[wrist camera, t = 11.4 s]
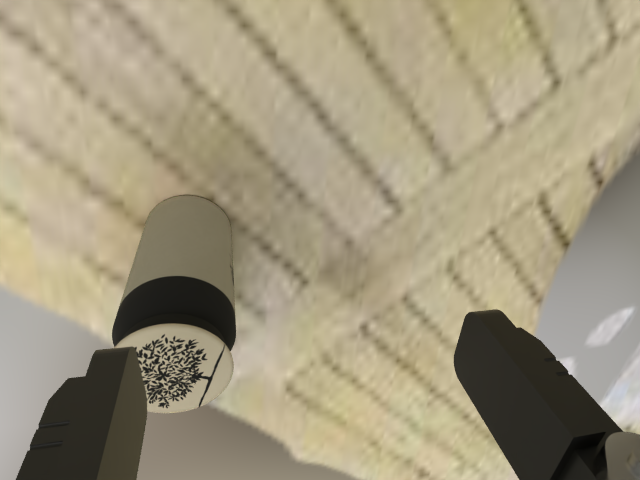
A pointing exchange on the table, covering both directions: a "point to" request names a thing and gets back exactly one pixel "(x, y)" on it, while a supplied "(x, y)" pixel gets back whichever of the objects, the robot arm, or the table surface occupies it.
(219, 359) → the travel mug
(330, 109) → the table surface
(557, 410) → the robot arm
